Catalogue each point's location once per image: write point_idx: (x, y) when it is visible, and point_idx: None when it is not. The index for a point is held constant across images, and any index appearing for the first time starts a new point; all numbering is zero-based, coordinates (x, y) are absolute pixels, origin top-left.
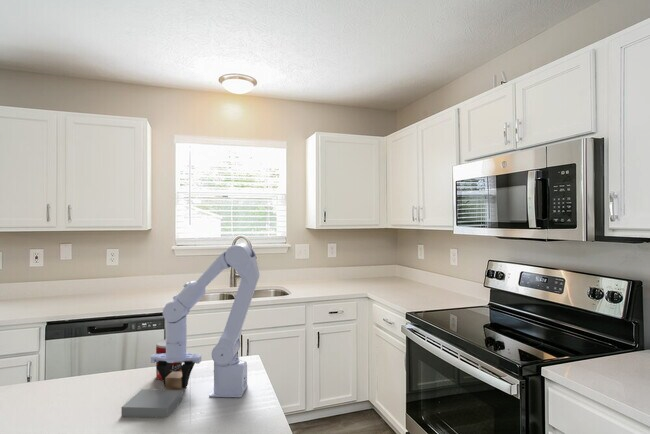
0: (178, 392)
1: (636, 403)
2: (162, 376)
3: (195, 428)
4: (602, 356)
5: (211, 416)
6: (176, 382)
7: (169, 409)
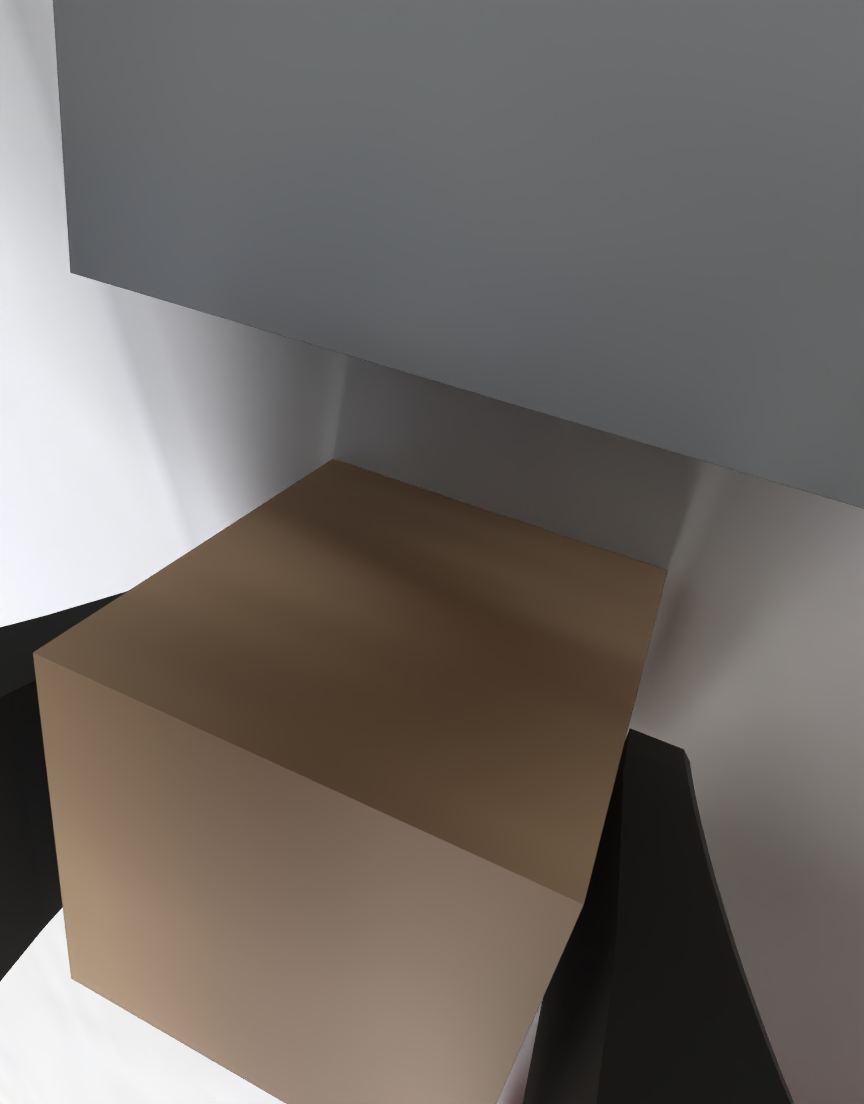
0: (121, 99)
1: None
2: (725, 1054)
3: None
4: None
5: None
6: (256, 625)
7: None
